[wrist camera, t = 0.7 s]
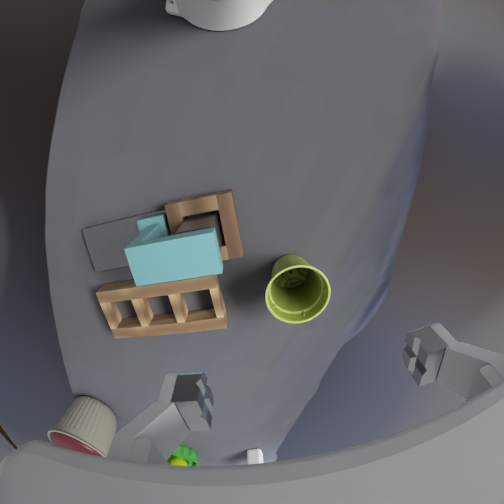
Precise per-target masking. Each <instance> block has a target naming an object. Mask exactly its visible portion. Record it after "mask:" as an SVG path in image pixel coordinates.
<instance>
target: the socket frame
mask: <svg viewBox="0 0 504 504" xmlns="http://www.w3.org/2000/svg"><path fill="white" fill-rule="evenodd" d="M164 206H165V209H163V210H158V211H154V212H149V213H145V214H140V215H136V216H132V217H128V218H123V219H119V220H115V221H111V222H107V223H103V224H99V225H96V226H92V227H88V228H84V229H83V230H82V231H83V235H84V238H85V241H86V245H87V248H88V251H89V254H90V257H91V260H92V263H93V266H94V269H95V271H96V272H97V271H103V270H108V269H114V268H120V267H125V266H129V263H128V260H127V257H126V253H125V250H124V249H125V248H126V247H127V246H128V245H129V244H130V243H131V242H132V241H133V240H134V239H135V238H137V237H138V236H139V235H140V231H139V227H138V223H137V221H138V220H139V219H142V218H147V217H151V216H156V215H161V214H165V217H166V221H167V225H168V229H169V233H170V235H175V232H176V231H177V230H178V229H179V227H180V226H181V225H182V223H183V222H184V221H185V220H186V218H187V216H188V215H194V214H199V213H204V212H209V211H215V210H219V214H220V219H221V224H222V229H223V233H224V238H225V240H223V242H222V247H221V251H220V254H221V259H222V261H223V260H229V259H235V258H241V257H243V247H242V241H241V236H240V231H239V225H238V220H237V214H236V209H235V204H234V198H233V193H232V189H231V190H225V191H220V192H215V193H209V194H204V195H199V196H194V197H189V198H184V199H180V200H175V201H170V202H168V203H167V204H166V205H164Z"/></svg>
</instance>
